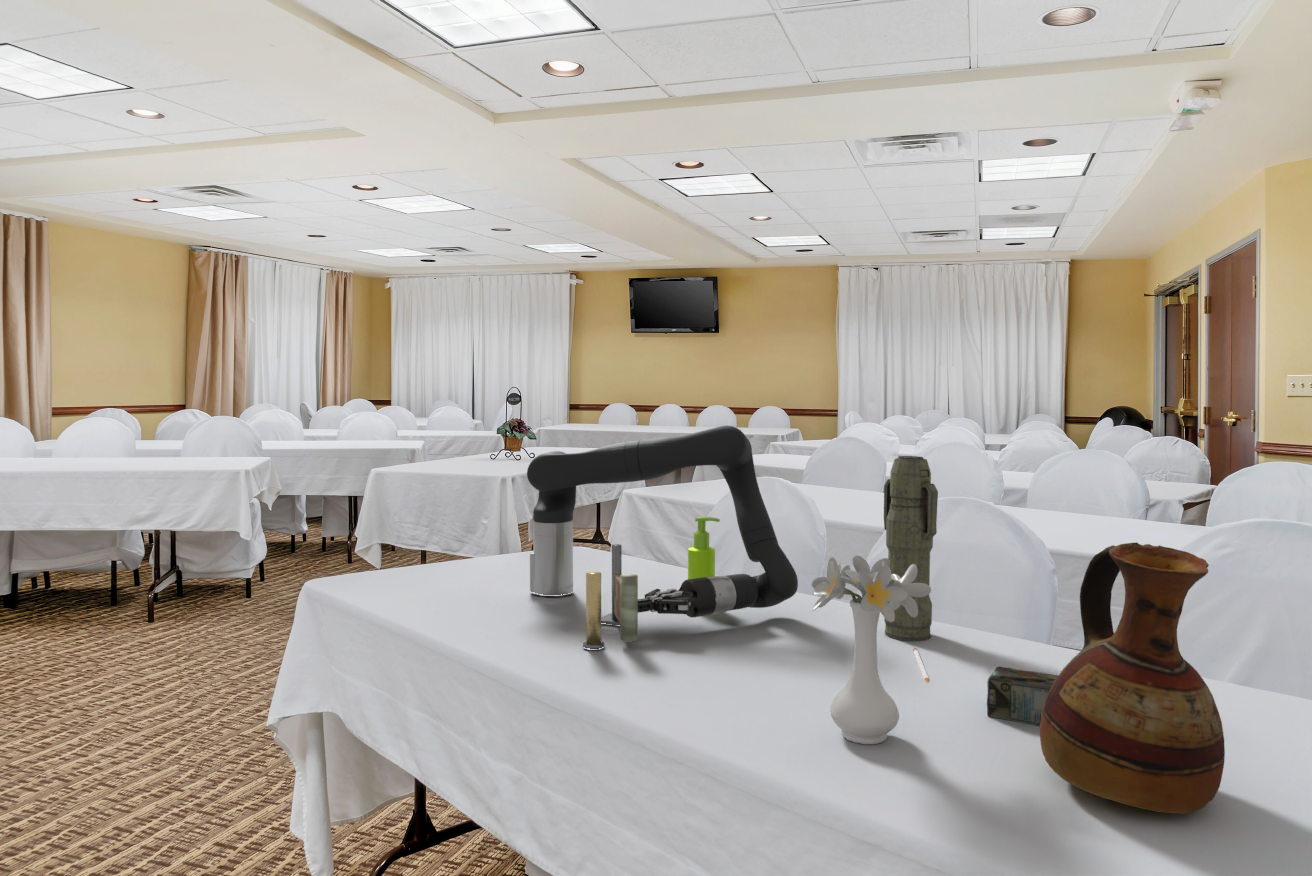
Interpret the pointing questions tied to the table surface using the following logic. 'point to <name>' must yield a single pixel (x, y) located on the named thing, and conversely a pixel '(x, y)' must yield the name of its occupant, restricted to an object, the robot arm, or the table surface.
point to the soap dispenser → (701, 552)
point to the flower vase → (867, 642)
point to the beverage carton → (1018, 694)
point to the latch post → (593, 611)
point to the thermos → (910, 538)
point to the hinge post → (615, 570)
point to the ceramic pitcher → (1136, 691)
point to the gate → (626, 605)
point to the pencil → (921, 665)
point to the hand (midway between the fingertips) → (631, 606)
